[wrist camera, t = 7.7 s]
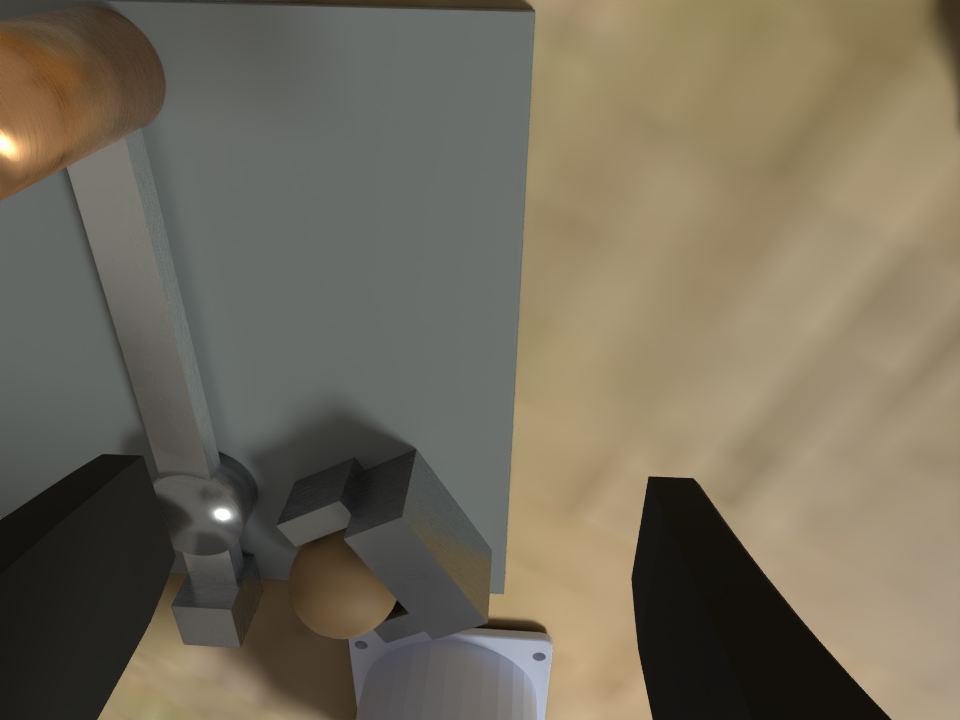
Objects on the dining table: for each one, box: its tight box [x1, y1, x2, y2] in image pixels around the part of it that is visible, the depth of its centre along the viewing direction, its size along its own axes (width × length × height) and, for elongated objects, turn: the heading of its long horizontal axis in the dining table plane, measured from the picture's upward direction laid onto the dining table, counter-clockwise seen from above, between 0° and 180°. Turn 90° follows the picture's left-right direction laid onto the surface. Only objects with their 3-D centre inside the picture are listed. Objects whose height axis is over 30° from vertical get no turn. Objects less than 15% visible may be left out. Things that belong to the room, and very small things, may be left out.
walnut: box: [288, 528, 397, 639], centre depth 23 cm, size 4×4×4 cm
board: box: [0, 0, 535, 594], centre depth 21 cm, size 19×18×1 cm
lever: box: [0, 6, 263, 648], centre depth 18 cm, size 20×3×6 cm, turn 179°
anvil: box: [276, 449, 492, 643], centre depth 22 cm, size 6×4×3 cm
